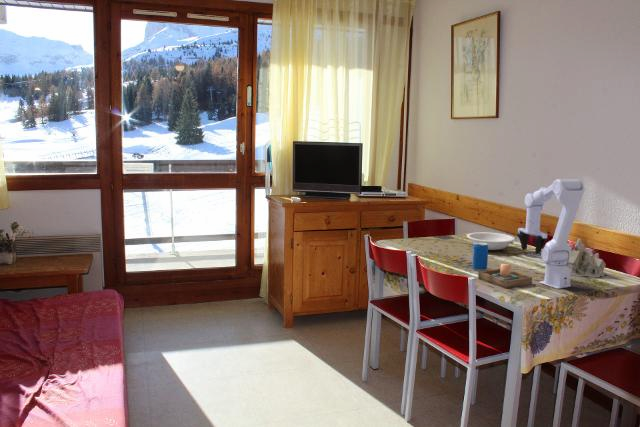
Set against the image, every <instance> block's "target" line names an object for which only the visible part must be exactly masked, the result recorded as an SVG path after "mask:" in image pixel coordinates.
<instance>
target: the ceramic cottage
mask: <svg viewBox="0 0 640 427" xmlns="http://www.w3.org/2000/svg"><path fill="white" fill-rule="evenodd" d="M568 244H569V243H568ZM569 245H570V247H571V252H570V254H571V256H570V259H569V261H568V262H567V264H565V265H566V266H567V267H569V268H570V270H571V276H572V277H581V276H589V277H588V278H594V277H598V278H601V277H600V276H603V277H605V272H604V271H605V267H606V262H605V261H604V260H603V259H601V258H600V254H599V253H598V252H596V253H595V254H593V253H592V252H588V249H587V248H586V246H585V244H584V243H582V240H581V238H577V241H576V244H575V246H574V247H573V245H572V244H571V243H570V244H569Z"/></svg>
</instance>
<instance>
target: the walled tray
mask: <svg viewBox="0 0 640 427" xmlns="http://www.w3.org/2000/svg"><path fill="white" fill-rule="evenodd" d="M477 279H479V280H481V281H483V280H484V281H483V282H486V283H489V284H492V285H495V286H498V287H500V288H503V289H506V290H508V289H512V288H519V287H523V286H525V287H526V286H530V285H532V284H533V276H530V275H527V274H525V273H524V274H523V273H520V272H518V271H513V270H512V269H510V278H503V277H500V268H496V269H486V270H485V271H478V276H477Z"/></svg>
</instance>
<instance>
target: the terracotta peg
mask: <svg viewBox="0 0 640 427" xmlns="http://www.w3.org/2000/svg"><path fill="white" fill-rule="evenodd" d="M511 266H512V265H511V264H509V263H500V266H499V269H500V277H503V278H510V270H512V269H511V268H512V267H511Z"/></svg>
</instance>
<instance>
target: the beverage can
mask: <svg viewBox="0 0 640 427" xmlns="http://www.w3.org/2000/svg"><path fill="white" fill-rule="evenodd" d="M472 245H473V246H472V262H471V266H472V267H471V268H472V269H473V270H474V271H476V270H477V272H480V271H487V270H488V261H489V260H488V259H489V257H488V256H489V250H488V245H487V243H484V242H475V243H474V244H472Z"/></svg>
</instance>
